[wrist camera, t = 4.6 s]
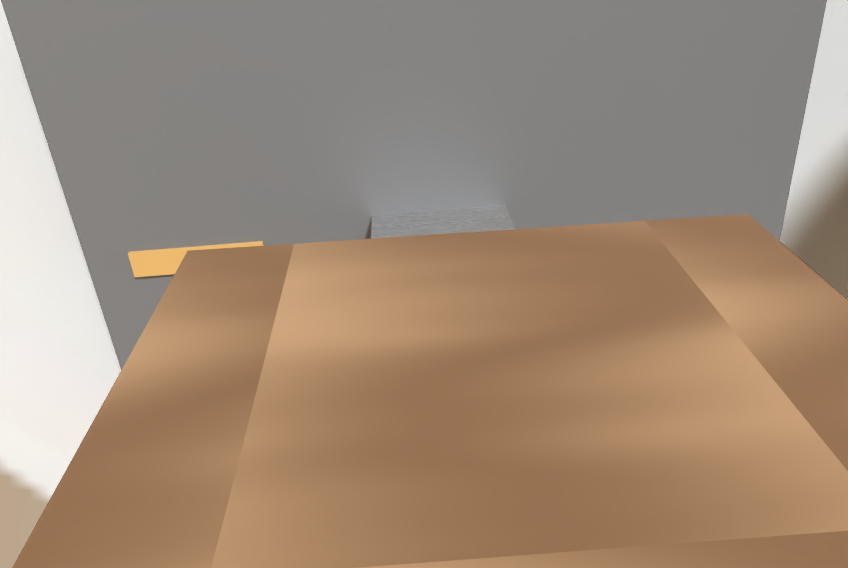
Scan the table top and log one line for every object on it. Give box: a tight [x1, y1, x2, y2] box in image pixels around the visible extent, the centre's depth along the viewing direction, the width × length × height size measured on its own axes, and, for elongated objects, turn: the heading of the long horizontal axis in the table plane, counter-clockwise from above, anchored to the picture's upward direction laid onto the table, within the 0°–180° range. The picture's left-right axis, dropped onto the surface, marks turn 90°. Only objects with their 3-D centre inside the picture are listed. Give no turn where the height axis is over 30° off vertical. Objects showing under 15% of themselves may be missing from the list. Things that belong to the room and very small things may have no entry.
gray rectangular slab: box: [1, 0, 827, 370], centre depth 17 cm, size 16×12×2 cm
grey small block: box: [371, 205, 515, 239], centre depth 15 cm, size 3×1×4 cm, turn 94°
